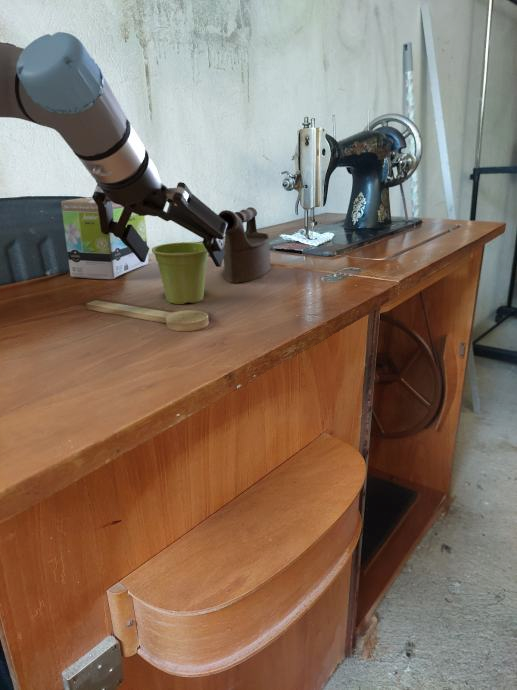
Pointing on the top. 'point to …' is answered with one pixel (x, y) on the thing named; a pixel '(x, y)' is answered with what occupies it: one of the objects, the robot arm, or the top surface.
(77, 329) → the top surface
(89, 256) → the tea box
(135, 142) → the robot arm
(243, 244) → the clothes iron
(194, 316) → the spoon
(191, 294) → the plant pot
